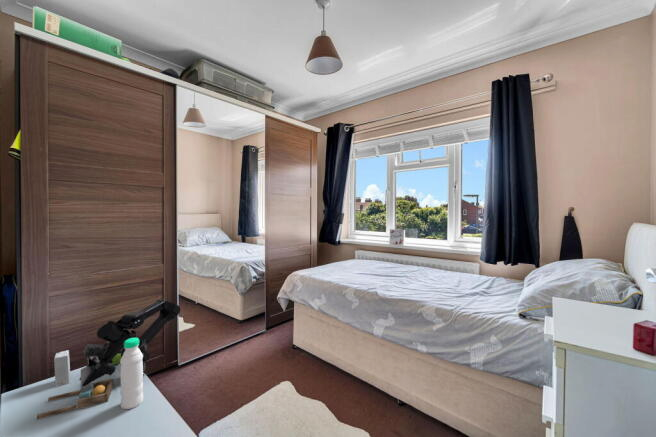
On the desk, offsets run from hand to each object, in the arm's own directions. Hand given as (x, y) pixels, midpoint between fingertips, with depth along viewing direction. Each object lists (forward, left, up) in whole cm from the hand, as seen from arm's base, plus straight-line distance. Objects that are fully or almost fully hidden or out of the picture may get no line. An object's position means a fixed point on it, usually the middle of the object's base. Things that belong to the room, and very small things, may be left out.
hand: (81, 382), depth 107 cm
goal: (+1, -1, -7) cm, 7 cm away
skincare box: (+11, -19, -7) cm, 23 cm away
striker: (-1, -1, -7) cm, 7 cm away
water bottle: (-17, +10, -7) cm, 22 cm away
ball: (-5, -1, -5) cm, 7 cm away
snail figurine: (-6, -25, -7) cm, 26 cm away
